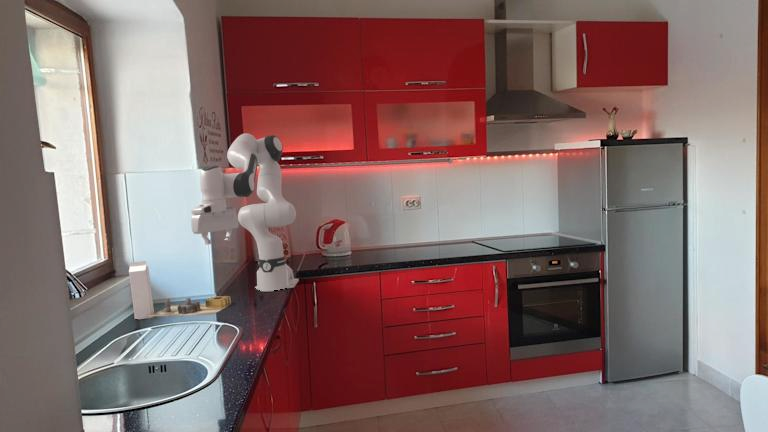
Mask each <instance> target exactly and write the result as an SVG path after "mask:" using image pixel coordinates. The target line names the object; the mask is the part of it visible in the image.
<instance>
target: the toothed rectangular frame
mask: <svg viewBox="0 0 768 432" xmlns="http://www.w3.org/2000/svg"><path fill="white" fill-rule="evenodd" d="M205 304H206V307H208V308H222V307H225V306H226V305H229V304H231V305H232V301H231V296H228V295H222V296H221V295H220V296H219V295H218V296H216V295H215V296H212V297H210V298H208V299H205ZM229 306H230V305H229Z"/></svg>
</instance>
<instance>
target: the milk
mask: <svg viewBox="0 0 768 432" xmlns="http://www.w3.org/2000/svg"><path fill="white" fill-rule="evenodd" d="M128 277H129V284H130V291H131V302H132V306H133V307H132V308H133V315H134V320H135V319H138V320H143V319H149V318H148V316H150V315H152V314H154V313H155V310H154V302H153V295H152V294H153V293H152V292H153V291H152V284H151V279H150V269H149V266H148V264H147V261H146V260H140V261H131V262H129V269H128Z"/></svg>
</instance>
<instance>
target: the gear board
mask: <svg viewBox="0 0 768 432" xmlns="http://www.w3.org/2000/svg"><path fill="white" fill-rule="evenodd" d="M191 300H192V299H191V298H190V297H187V298H185V302H184V303H180V304H179V303H178V305H177V304H175V305H174V304H173V305H171V301H170V298H165V299H164V306H165V308H163V309H161V310H159V311H157V312H154V314H152V315H150V316H148V318H147V319H151V318H154V317H172V316H173V317H176V316H177V317H178V316H181V317H182V316H213V315H215V314H217V313H218V312H221V311H222V310H224V309H225V308H227V307H229V306H231V305H232V303H231V304H229V305H226V306H225V307H222V308H208V307H206V303H204V304H201V303H200V301H197V302H196V301H195V300H194V301H191Z"/></svg>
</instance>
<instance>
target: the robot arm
mask: <svg viewBox="0 0 768 432" xmlns="http://www.w3.org/2000/svg"><path fill="white" fill-rule="evenodd" d="M283 146H284V145H283V143H282V141H281V140H280V138H279V137H278V136H276V135H275V134H271V135H265V136H264V137H261V138H258V139H256V137H255V136H254V135H253V134H251V133H242V134H240V135H239V136H237V137H236V138H235V140H234V141H233V142H232V143H231V145H230V146H229V148H228V150H227V153H226V158H227V160H228V162H229V164H230V165H231V166H232V167H233V168H235V169H237V170H241V172H235V173H223V170H222V168H221V166H220V165H207V166H204V167H202V168H201V169H200V171H199V187H200V192H201V195H202V197H201V203H200V204H199V205H197V206H195V207H193V208H191V210H190V213H191V214H192V216H191V221H190V222H191V232H192V233H193V234H194V235H201V237H202V238H203V240H204V244H205V245H211V244H212V240H211V239H209V237H208V236H209V233H213V232H220V231H225V232H226V235H225V236H224V237H223V238H224V241H225V242H228V241H231V235H232V232H233V229H238V228H239V226H240V227H241V226H242V228H244V229H245V230H247V231H248V232H250V234H251V235H252V237H253V238H254V240H255V243H256V248H257V252H258V260H257V263H258V264H257V265H258V267H259V268H258V269H257V271H256V284H257V285H256V286H254V289H255V288H256V289H255V290H257V291H259V290H260V291H259V292H275V291H274V290H278V291H281V290H280V289H283V290H286V289H285V288H287V289H293V288H295V287H296V285H297V284H298V283H299V281H300V280H299V279H300V278H295V277H294V272H293V271H294V270H293V269H292V268H291V267H290V266H289V265H288V264H287V260H288V256H287V255H284V246H283V240H282V239H281V237H280V236H278V235H277V234H273V233H271V232H270V231H269V228H275V227H276V228H279V227H285V226H288V225H292V224H293V223H294V222H295V220H296V216H297V211H296V208H295V207H294V205H293V204H292V203H291V202H289V201H287V200H286V199H285V198H284V197H283V193H282V180H283V178H282V169H281V165H280V164H279V163H278V162H279V161H281V158H282V154H283V149H284V148H283ZM258 166H259V171H258ZM242 170H243V171H242ZM257 171H258V176H257ZM256 176H257V183H256V181H255V180H256ZM255 184H256V185H257V186H256V185H255ZM255 186H256V196H257V197H258V198H259V199H260V200H261V201H263V202H264V203H263V202H262V203H252V204H248V205H245V206H242V207H241V208H240V209H239V211H238V212H237V208H236V207H235V206H234V205H227V201H226V198H227V199H230V198H231V199H232V198H249V197H250V196H251V195H252V194H253V193H254V191H255Z"/></svg>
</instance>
